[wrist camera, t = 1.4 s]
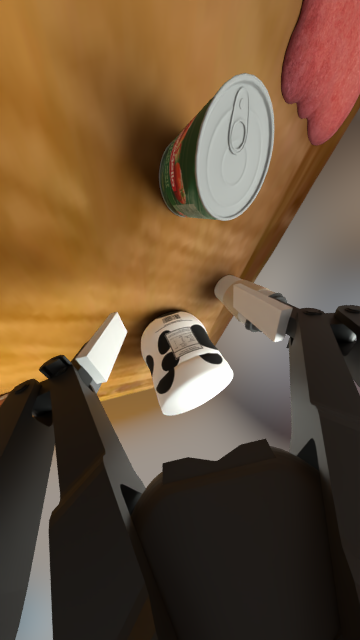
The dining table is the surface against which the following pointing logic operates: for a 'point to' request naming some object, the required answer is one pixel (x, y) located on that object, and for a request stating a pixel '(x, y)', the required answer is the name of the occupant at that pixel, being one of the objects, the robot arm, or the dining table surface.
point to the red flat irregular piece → (323, 65)
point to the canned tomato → (221, 153)
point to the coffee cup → (226, 296)
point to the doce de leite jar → (183, 362)
